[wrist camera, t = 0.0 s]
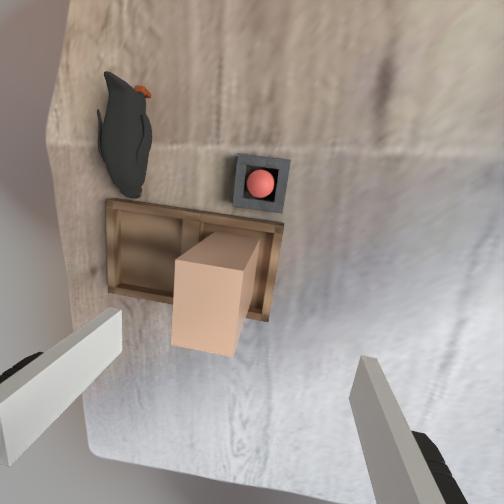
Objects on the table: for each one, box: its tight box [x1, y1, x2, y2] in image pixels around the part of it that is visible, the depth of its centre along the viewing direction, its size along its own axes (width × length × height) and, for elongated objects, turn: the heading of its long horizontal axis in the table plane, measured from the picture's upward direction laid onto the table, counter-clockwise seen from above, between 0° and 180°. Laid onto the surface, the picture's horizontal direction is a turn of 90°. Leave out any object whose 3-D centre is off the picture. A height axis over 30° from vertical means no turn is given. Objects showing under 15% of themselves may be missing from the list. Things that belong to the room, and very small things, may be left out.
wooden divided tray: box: [106, 198, 284, 322], centre depth 43 cm, size 15×27×3 cm, turn 82°
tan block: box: [171, 231, 260, 357], centre depth 35 cm, size 10×7×15 cm
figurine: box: [97, 71, 152, 198], centre depth 37 cm, size 7×10×15 cm
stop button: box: [247, 170, 275, 198], centre depth 37 cm, size 4×4×3 cm
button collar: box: [232, 153, 291, 213], centre depth 38 cm, size 7×7×3 cm
